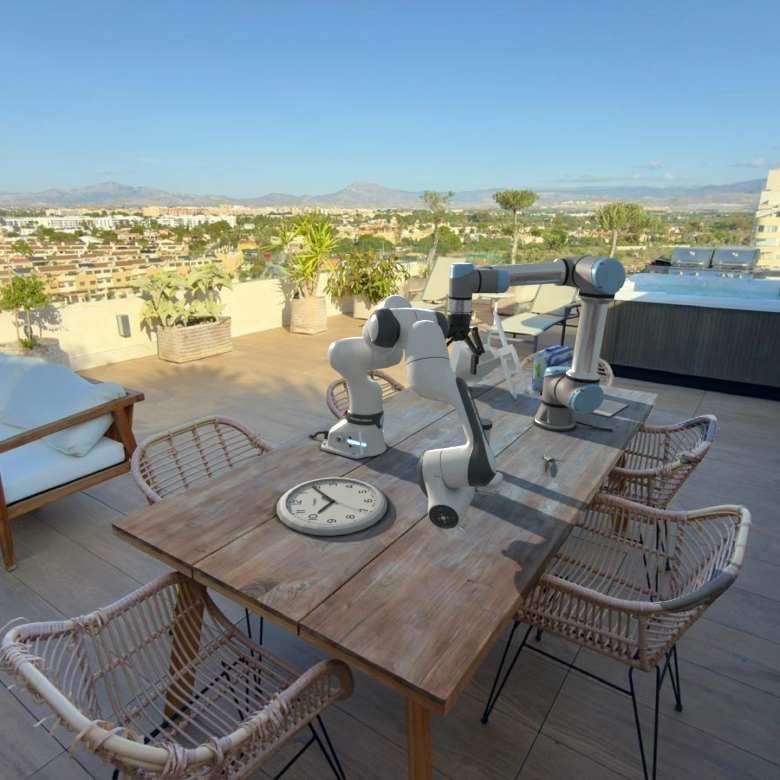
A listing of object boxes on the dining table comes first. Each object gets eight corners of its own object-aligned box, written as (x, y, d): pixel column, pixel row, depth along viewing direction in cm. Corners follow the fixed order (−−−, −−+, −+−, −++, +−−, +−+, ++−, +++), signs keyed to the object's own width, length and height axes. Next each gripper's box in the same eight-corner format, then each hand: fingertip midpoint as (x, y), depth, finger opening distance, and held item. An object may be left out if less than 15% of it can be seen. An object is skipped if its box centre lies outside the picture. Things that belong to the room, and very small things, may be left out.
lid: (485, 422, 167) (486, 417, 167) (496, 429, 162) (496, 423, 161) (469, 424, 165) (469, 419, 164) (478, 431, 160) (479, 426, 159)
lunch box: (548, 398, 236) (553, 353, 229) (527, 393, 243) (531, 349, 237) (575, 387, 253) (581, 344, 247) (555, 382, 260) (560, 341, 254)
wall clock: (392, 527, 129) (268, 531, 127) (391, 533, 130) (269, 537, 127) (383, 473, 158) (282, 475, 155) (383, 478, 158) (282, 480, 156)
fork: (540, 473, 163) (541, 467, 163) (544, 453, 178) (545, 448, 177) (549, 474, 162) (550, 468, 162) (552, 454, 177) (553, 449, 176)
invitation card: (608, 416, 214) (573, 407, 224) (608, 416, 214) (573, 408, 224) (628, 404, 229) (594, 396, 238) (628, 405, 229) (594, 397, 238)
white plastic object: (461, 429, 252) (437, 405, 227) (444, 352, 274) (420, 323, 250) (535, 404, 240) (518, 377, 215) (510, 326, 262) (492, 293, 237)
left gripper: (500, 482, 129) (507, 461, 141) (420, 470, 135) (434, 450, 148) (498, 505, 131) (506, 482, 143) (420, 492, 137) (433, 470, 150)
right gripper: (485, 309, 176) (481, 369, 182) (419, 312, 167) (416, 376, 173) (498, 312, 169) (493, 375, 176) (430, 315, 160) (427, 382, 166)
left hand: (469, 465), depth 145 cm, fingers open, 8 cm apart
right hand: (455, 375), depth 174 cm, fingers open, 13 cm apart
